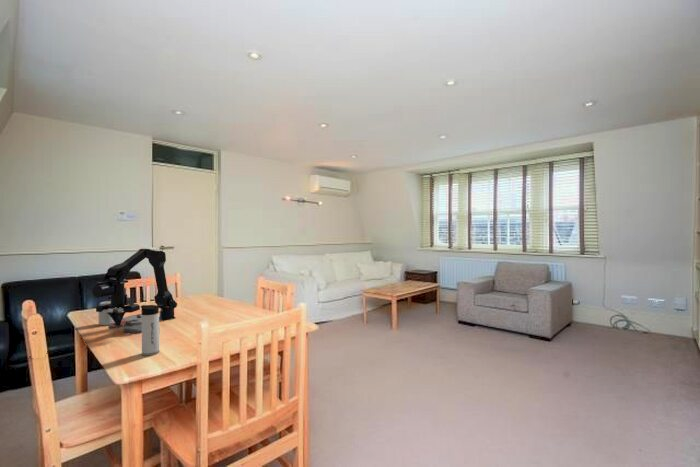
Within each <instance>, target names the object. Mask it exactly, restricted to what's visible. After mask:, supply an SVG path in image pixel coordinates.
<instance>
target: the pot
mask: <svg viewBox="0 0 700 467" xmlns="http://www.w3.org/2000/svg"><path fill="white" fill-rule="evenodd" d="M159 321H163V320H162V317H160V316H159ZM107 328H108V329H107V330H115V329H120V328H122V332H123V333H124V334H128V335H129V334H131V335H134V334H142V322H141V323H126V324H122V325H120V326H114V327H113V326H111V325H107Z"/></svg>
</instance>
